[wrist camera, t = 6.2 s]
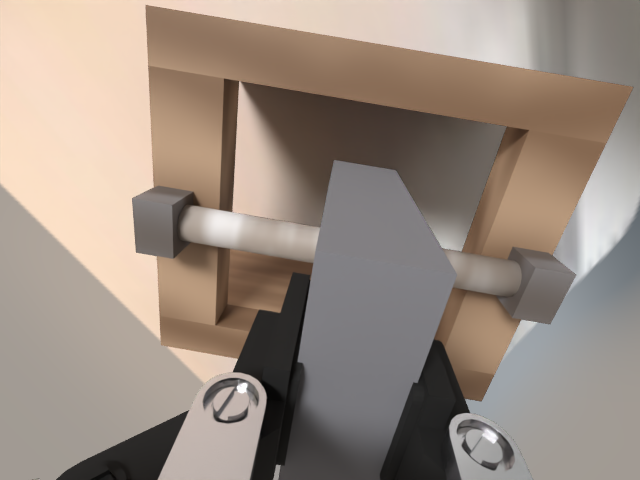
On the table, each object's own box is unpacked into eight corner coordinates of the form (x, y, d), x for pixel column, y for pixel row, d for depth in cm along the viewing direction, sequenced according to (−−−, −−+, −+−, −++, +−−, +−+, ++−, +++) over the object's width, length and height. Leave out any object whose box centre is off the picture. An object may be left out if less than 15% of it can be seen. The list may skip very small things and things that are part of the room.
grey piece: (334, 159, 13) (315, 250, 6) (396, 170, 13) (457, 274, 6) (306, 326, 16) (272, 518, 9) (355, 334, 16) (361, 534, 9)
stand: (240, 46, 23) (110, -11, 11) (498, 90, 23) (683, 85, 10) (229, 252, 30) (140, 372, 17) (432, 287, 30) (496, 434, 17)
